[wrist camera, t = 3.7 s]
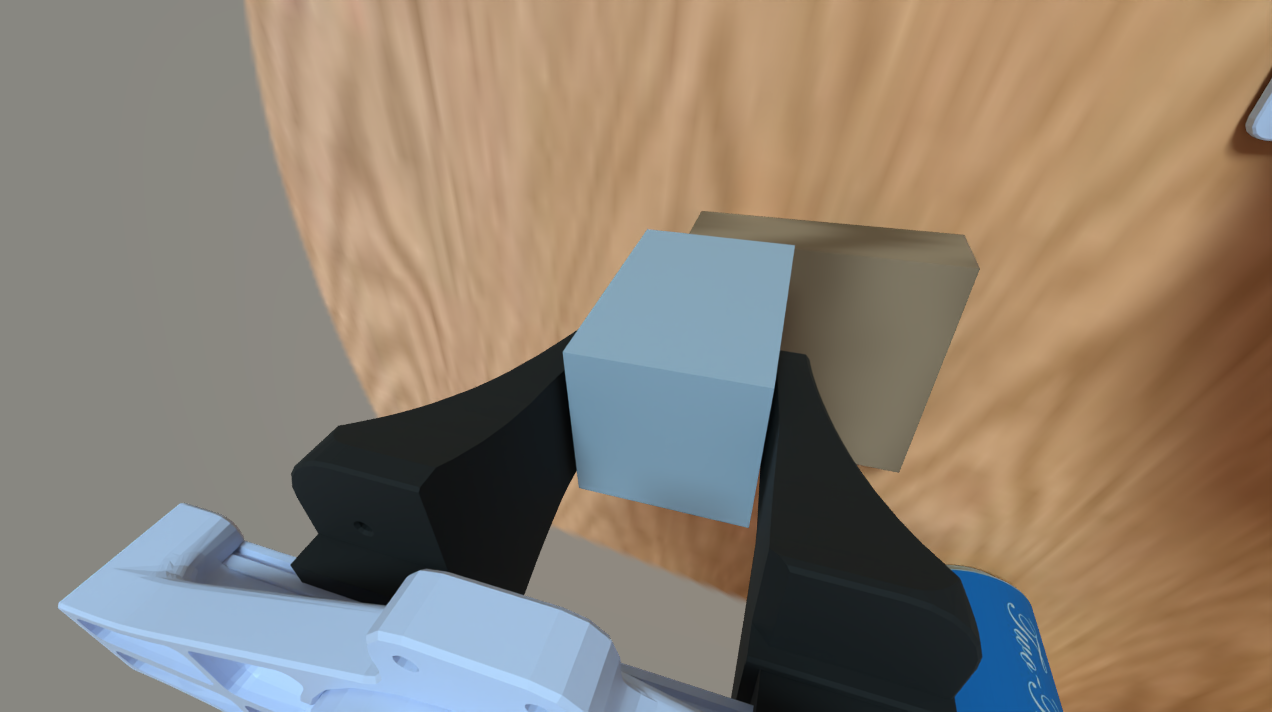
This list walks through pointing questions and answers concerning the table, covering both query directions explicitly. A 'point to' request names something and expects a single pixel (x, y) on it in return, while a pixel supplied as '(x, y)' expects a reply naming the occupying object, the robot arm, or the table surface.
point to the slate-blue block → (680, 373)
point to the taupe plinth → (866, 319)
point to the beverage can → (1005, 651)
